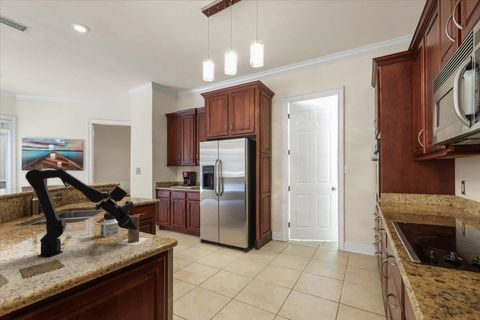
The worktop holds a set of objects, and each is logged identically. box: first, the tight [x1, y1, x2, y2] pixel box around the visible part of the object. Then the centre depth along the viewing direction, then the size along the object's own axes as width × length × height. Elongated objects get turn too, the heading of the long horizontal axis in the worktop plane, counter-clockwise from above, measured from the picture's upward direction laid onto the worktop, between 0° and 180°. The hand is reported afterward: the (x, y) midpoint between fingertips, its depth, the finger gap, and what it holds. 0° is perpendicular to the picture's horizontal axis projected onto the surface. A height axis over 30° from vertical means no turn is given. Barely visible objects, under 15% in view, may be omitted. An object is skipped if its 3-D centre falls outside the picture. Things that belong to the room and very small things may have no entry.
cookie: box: [19, 259, 66, 280], centre depth 87 cm, size 12×12×1 cm
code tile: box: [117, 237, 149, 246], centre depth 117 cm, size 11×11×1 cm
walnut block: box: [127, 214, 140, 243], centre depth 118 cm, size 5×5×13 cm
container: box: [99, 212, 121, 238], centre depth 129 cm, size 8×8×13 cm
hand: (135, 227), depth 118 cm, fingers open, 9 cm apart
